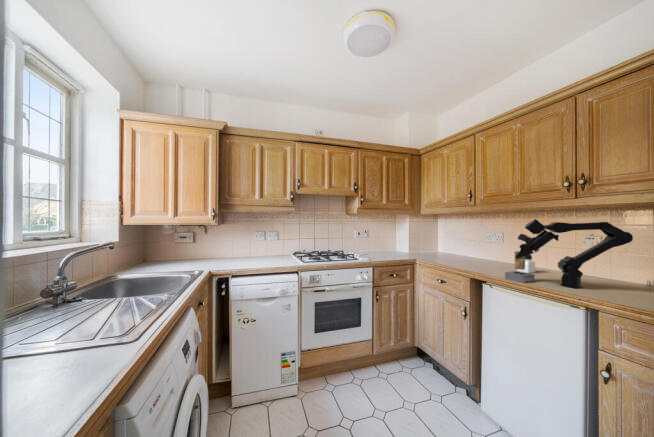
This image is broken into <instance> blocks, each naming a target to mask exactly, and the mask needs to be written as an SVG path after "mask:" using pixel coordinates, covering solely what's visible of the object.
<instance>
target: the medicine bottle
mask: <svg viewBox="0 0 654 437" xmlns="http://www.w3.org/2000/svg"><path fill="white" fill-rule="evenodd" d="M532 258H533V254H531V255H527V256H525V269H524V270H520V269H516V271H519V272H525V273H530V274H534V273H535V272H536V262H535V261H532Z"/></svg>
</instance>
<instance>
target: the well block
mask: <svg viewBox="0 0 654 437" xmlns="http://www.w3.org/2000/svg"><path fill="white" fill-rule="evenodd" d="M504 279H505V280H509V281H514V282H518V283H523V284H526V283H531V282H535V274H534V273H525V272H519V271H517V270H513V271H505V272H504Z"/></svg>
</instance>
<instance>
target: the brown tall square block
mask: <svg viewBox="0 0 654 437" xmlns="http://www.w3.org/2000/svg"><path fill="white" fill-rule="evenodd" d="M519 252H520V250H516V251H514V270H517V269H520V270H524V269H525V256H523V257H520V258H516V257H515V256H516V255H517V254H518V253H519Z"/></svg>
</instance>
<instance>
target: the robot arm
mask: <svg viewBox="0 0 654 437" xmlns="http://www.w3.org/2000/svg"><path fill="white" fill-rule="evenodd" d="M524 228H525V229H526V230H527V231H529V232H530V233H531V234H532V235H536V236H534V237H533V236H532V237H531V236H528V235H527V234H524V233H520V234H518V237H517V240H519V241H520V240H521V241H523V242H525V243H522V244H520V245H519V246H518V247H519V248H520V250H519V251H520V252H519V253H518V254H517V255H516V256H515V255H514V258H515V257H516V258H520V257H523V256H527V255H533V254H535V253H538V252H539V251H540V249H541V248H543V247H544V246H545V245H546V244H548V243H550V242H551V241H552V240H553V239H554V240H556V242H558V241H559V237H560V236H559V234H561V233H562V234H563V233H568V232H572V231H590V230H591V231H592V230H597V231H598V230H600V231H601V232H602V233H603V234H605V237H604V239H603V240H602V241H600V242H598V243H597V244H595V245H593V246H592V247H589V248H588V249H586V250H584V251H582V252H579V254H577V255H575V256H568V255H566V256H564V258H562V259H559V261H558V262H557V267H558V269H559V270H560V271H561V273H562V276H561V284H560V286H562V287H565V288H566V287H567V288H572V289H581V288H583V285H582V283H581V282H582V277H583V274H584V273H583V272H582V271H581V270H580V268H581V267H582V266H583V265H584V263H587V262H589V261H590V260H591V259H594V258H596V257H597V256H600V255H601V254H603V253H605V252H607V251H609V250H611V249H613V248H616V247H621V246H623V245H626V244H629V243H631V242H633V239H634V236H633V235H632V233H630V232H629V231H624V230H623V229H621V228H619V227H618V226H614V225H613V224H611V223H609V222H608V221H598V222H596V221H595V222H580V223H579V222H578V223H574V222H572V223H571V222H559V221H557V222H556V221H555V222H554V221H553V222H550V223H549V224H542V223H541V222H540V221H539V220H538V219H533V220H531V221H530V222H528V223H527V224H526V225H525V226H524ZM548 230H549V231H548ZM555 233H556V234H555Z"/></svg>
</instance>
